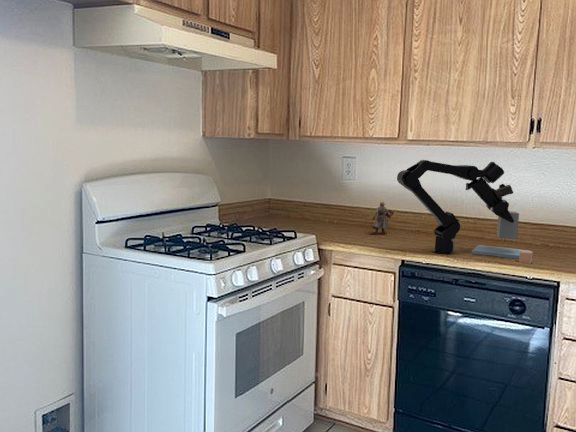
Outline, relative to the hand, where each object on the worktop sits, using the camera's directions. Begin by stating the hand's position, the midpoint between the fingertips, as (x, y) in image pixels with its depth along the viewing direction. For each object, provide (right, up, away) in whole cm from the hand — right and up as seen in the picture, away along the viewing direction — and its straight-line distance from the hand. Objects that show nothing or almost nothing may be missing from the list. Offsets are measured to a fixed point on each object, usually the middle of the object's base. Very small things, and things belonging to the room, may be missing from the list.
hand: (511, 220), depth 218 cm
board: (-3, -13, +4) cm, 14 cm away
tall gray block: (-2, -6, +1) cm, 7 cm away
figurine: (-43, -7, +44) cm, 62 cm away
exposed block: (+1, -15, -11) cm, 19 cm away
